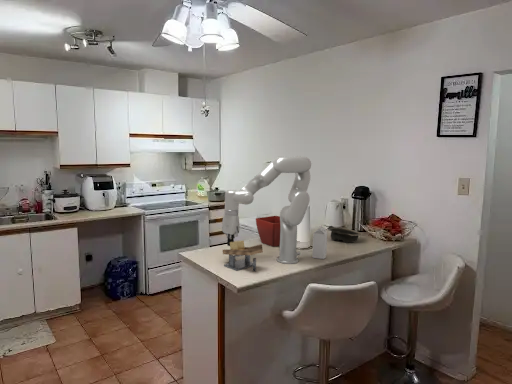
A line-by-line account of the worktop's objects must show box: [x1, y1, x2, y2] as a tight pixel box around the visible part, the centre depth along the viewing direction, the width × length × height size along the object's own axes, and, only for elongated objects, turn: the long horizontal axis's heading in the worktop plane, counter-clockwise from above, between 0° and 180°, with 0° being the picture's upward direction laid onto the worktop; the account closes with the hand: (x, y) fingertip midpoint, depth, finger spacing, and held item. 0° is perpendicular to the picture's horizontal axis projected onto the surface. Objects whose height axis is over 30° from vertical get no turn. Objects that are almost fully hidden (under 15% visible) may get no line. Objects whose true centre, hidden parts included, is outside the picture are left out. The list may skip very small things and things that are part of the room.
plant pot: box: [255, 215, 280, 248], centre depth 241 cm, size 19×19×17 cm
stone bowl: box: [326, 225, 363, 244], centre depth 256 cm, size 25×25×9 cm
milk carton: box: [311, 224, 328, 260], centre depth 213 cm, size 7×7×19 cm
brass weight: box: [229, 240, 246, 250], centre depth 194 cm, size 6×5×5 cm
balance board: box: [222, 243, 264, 256], centre depth 192 cm, size 22×9×4 cm, turn 45°
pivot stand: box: [223, 255, 257, 272], centre depth 192 cm, size 21×14×7 cm
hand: (230, 245), depth 198 cm, fingers closed
